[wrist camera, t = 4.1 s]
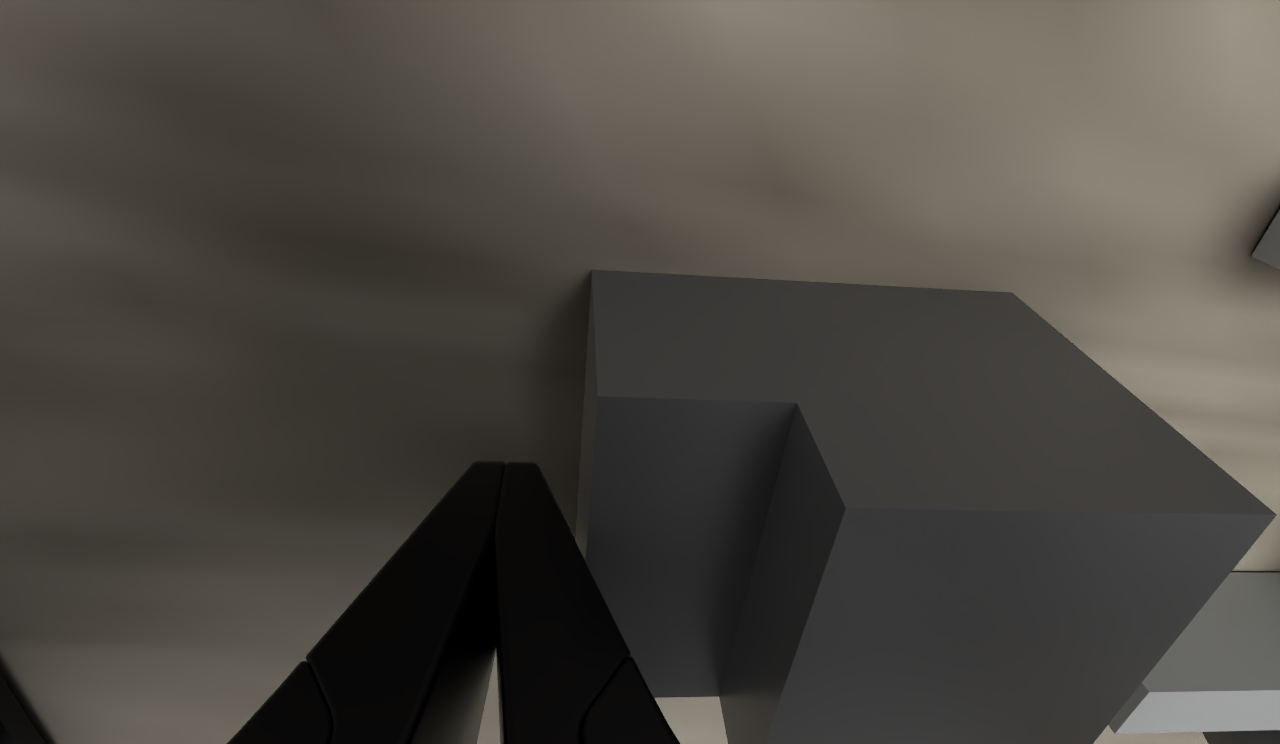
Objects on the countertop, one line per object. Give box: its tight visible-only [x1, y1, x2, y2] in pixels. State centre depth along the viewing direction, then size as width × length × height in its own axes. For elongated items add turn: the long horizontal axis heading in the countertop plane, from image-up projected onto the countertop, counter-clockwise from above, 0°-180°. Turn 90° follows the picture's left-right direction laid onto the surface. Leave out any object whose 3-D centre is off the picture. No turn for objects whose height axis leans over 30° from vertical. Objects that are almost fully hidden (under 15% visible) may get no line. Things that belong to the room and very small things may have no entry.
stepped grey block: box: [575, 270, 1276, 744], centre depth 9 cm, size 5×6×4 cm
